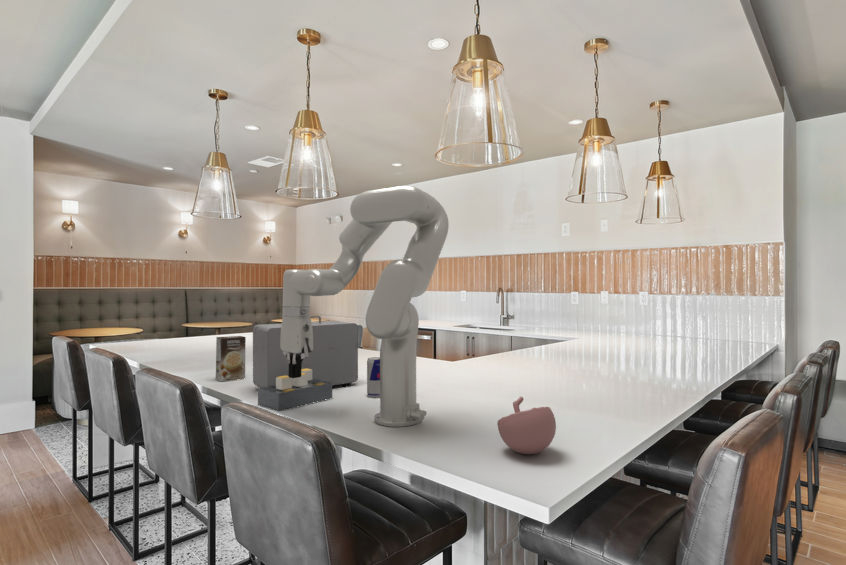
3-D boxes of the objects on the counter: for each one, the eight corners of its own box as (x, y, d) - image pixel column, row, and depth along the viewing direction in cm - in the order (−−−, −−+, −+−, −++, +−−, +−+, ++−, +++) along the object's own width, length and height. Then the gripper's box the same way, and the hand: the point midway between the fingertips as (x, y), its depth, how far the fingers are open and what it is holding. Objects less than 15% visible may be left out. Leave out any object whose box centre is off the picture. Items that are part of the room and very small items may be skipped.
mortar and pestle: (529, 439, 106) (529, 389, 106) (568, 456, 96) (568, 400, 96) (486, 448, 101) (486, 395, 101) (523, 467, 90) (522, 408, 90)
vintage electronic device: (335, 377, 180) (335, 312, 180) (358, 385, 165) (357, 314, 165) (251, 388, 161) (251, 316, 161) (267, 398, 146) (267, 319, 147)
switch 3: (312, 379, 149) (312, 369, 149) (303, 381, 146) (303, 370, 146) (306, 378, 151) (306, 368, 151) (297, 380, 148) (297, 369, 148)
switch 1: (291, 388, 137) (291, 376, 137) (281, 390, 134) (281, 378, 134) (286, 386, 139) (286, 375, 139) (276, 388, 136) (275, 377, 136)
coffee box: (220, 382, 171) (220, 338, 171) (215, 379, 176) (215, 337, 176) (245, 378, 177) (245, 336, 177) (240, 376, 182) (240, 335, 182)
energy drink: (383, 398, 146) (382, 359, 146) (366, 398, 146) (365, 359, 147) (384, 394, 152) (384, 357, 152) (368, 394, 152) (368, 357, 152)
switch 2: (307, 384, 141) (307, 373, 141) (298, 386, 139) (298, 375, 139) (301, 383, 143) (301, 372, 143) (292, 385, 140) (292, 374, 141)
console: (332, 398, 146) (332, 381, 146) (278, 411, 131) (278, 392, 131) (310, 393, 153) (310, 377, 153) (257, 405, 138) (257, 387, 138)
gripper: (323, 314, 131) (322, 379, 131) (292, 310, 140) (290, 371, 140) (300, 315, 125) (299, 383, 125) (269, 311, 135) (268, 375, 135)
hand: (294, 377), depth 133 cm, fingers closed
